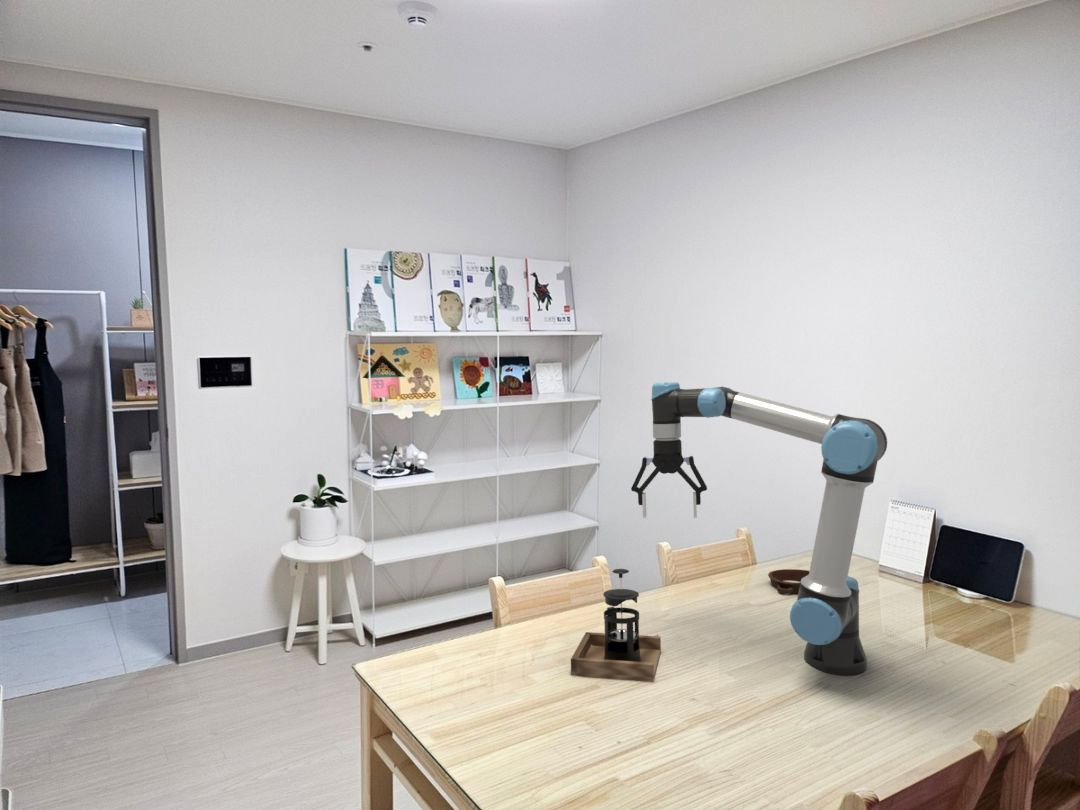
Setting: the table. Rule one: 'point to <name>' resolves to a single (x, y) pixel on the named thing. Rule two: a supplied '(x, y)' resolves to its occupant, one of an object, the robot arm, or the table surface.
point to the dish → (787, 575)
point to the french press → (621, 639)
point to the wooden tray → (593, 664)
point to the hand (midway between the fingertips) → (669, 517)
